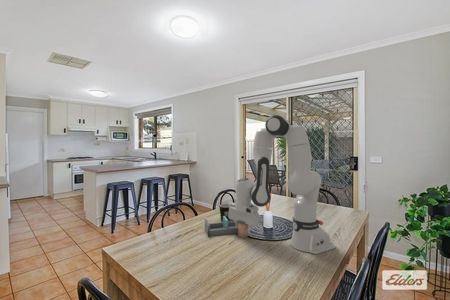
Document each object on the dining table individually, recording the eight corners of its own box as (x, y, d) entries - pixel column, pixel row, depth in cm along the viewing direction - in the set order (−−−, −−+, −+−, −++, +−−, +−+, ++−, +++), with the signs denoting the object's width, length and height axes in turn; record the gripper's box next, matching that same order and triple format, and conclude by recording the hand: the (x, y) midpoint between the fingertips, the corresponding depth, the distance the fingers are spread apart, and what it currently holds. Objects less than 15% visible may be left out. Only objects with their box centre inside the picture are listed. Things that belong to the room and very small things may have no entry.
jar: (246, 232, 131) (246, 217, 131) (250, 237, 125) (250, 221, 125) (236, 233, 129) (236, 218, 129) (239, 238, 123) (239, 222, 123)
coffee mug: (217, 221, 150) (217, 206, 150) (221, 217, 158) (221, 203, 158) (234, 222, 147) (234, 208, 147) (236, 218, 156) (236, 204, 155)
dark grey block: (235, 225, 142) (235, 216, 142) (240, 232, 131) (240, 222, 131) (204, 228, 137) (204, 219, 137) (208, 236, 126) (207, 226, 126)
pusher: (224, 226, 139) (224, 215, 139) (228, 232, 131) (228, 220, 131) (222, 227, 139) (222, 216, 138) (226, 232, 131) (226, 220, 130)
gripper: (226, 204, 131) (226, 227, 131) (255, 211, 118) (254, 236, 118) (232, 202, 136) (232, 224, 136) (261, 208, 122) (261, 232, 123)
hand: (243, 229), depth 127 cm, fingers closed on jar, 6 cm apart
